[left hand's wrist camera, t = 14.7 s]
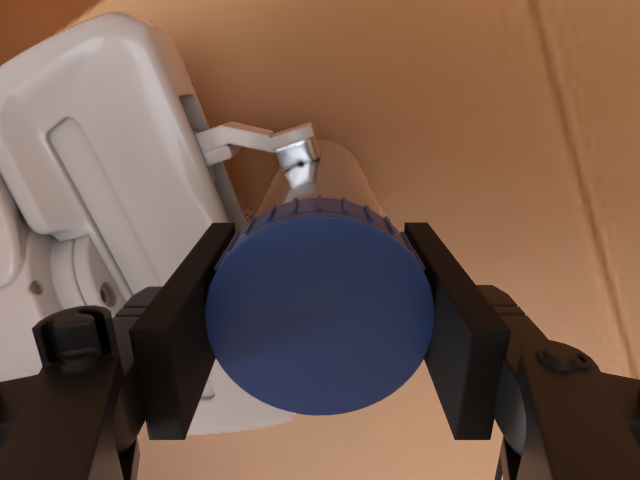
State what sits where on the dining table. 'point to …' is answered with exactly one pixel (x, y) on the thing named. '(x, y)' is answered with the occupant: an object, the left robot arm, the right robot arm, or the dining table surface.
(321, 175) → the grey tall cylinder
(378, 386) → the lid
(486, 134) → the dining table surface
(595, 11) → the dining table surface
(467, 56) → the dining table surface
